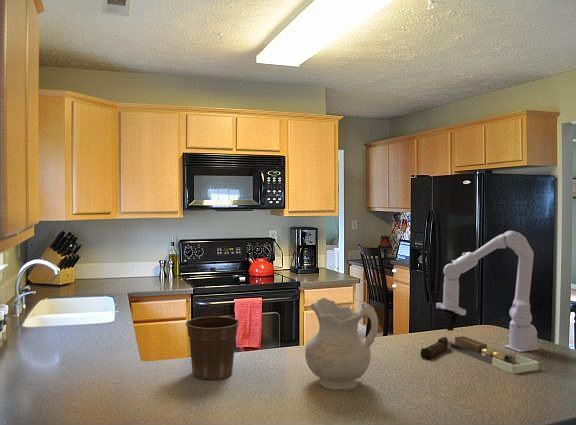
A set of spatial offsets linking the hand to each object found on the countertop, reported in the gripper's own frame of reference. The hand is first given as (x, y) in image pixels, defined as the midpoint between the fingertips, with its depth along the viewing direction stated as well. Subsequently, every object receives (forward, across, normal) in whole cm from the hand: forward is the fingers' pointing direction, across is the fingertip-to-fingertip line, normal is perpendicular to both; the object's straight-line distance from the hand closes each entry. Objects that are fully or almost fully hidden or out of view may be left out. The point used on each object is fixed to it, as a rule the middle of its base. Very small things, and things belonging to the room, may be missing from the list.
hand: (449, 330), depth 200 cm
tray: (+5, +31, 0) cm, 32 cm away
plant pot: (+6, +3, -95) cm, 95 cm away
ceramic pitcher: (+5, +25, -62) cm, 67 cm away
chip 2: (+5, +24, 0) cm, 25 cm away
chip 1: (+5, +20, 0) cm, 20 cm away
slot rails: (+5, +14, 0) cm, 15 cm away
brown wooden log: (+6, +9, -14) cm, 18 cm away
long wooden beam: (+5, +11, 0) cm, 12 cm away
